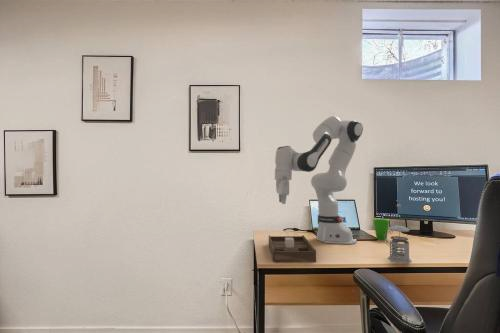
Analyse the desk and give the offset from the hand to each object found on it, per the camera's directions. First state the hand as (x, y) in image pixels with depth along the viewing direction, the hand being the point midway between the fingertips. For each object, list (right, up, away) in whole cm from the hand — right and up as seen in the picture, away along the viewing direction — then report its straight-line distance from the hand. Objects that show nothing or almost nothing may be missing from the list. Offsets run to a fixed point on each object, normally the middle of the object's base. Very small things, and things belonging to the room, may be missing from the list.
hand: (282, 203), depth 151 cm
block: (+3, -21, -7) cm, 22 cm away
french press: (+50, -23, -20) cm, 59 cm away
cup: (+60, -24, +19) cm, 67 cm away
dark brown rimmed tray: (+3, -23, -8) cm, 25 cm away
